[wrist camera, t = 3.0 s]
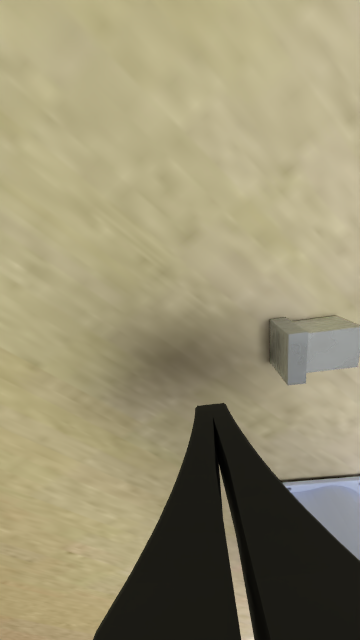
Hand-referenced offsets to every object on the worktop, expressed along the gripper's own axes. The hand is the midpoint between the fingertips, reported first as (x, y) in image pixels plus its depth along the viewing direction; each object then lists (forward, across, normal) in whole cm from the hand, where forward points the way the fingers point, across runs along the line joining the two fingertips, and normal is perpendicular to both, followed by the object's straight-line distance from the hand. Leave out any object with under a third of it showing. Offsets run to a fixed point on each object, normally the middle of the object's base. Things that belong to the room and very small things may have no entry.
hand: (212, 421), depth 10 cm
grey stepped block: (+7, -8, 0) cm, 11 cm away
